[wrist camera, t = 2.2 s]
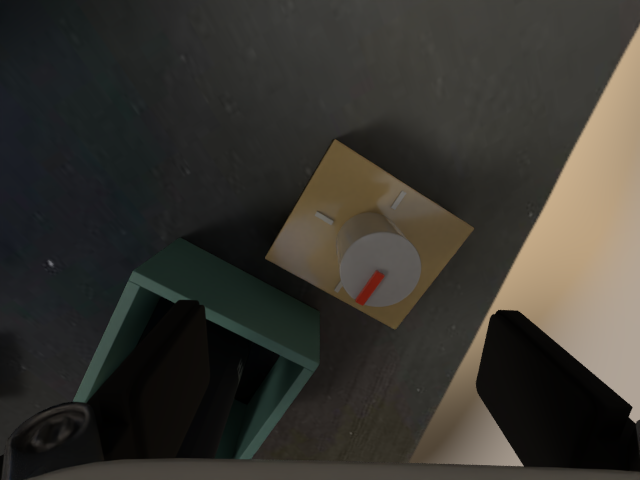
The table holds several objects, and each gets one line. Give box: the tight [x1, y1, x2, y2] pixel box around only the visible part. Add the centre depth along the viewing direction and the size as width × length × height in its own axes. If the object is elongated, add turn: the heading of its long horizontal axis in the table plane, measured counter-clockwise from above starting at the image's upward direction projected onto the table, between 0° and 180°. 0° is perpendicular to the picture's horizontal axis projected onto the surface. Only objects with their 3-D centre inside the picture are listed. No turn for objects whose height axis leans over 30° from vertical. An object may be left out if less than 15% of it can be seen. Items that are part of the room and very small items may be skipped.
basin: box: [73, 238, 320, 459], centre depth 26 cm, size 14×14×7 cm
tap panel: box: [265, 139, 474, 329], centre depth 25 cm, size 10×12×3 cm
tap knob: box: [336, 212, 421, 307], centre depth 21 cm, size 5×5×5 cm
